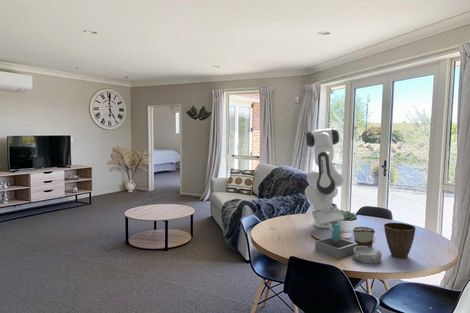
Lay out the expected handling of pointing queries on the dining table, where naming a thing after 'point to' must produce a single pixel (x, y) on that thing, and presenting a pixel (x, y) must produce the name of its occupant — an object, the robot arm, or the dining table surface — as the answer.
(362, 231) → the food container
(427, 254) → the dining table surface
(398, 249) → the plant pot
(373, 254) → the dish
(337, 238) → the teal upright cylinder
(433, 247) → the dining table surface
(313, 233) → the dining table surface
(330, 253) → the shallow grey tray
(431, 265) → the dining table surface
